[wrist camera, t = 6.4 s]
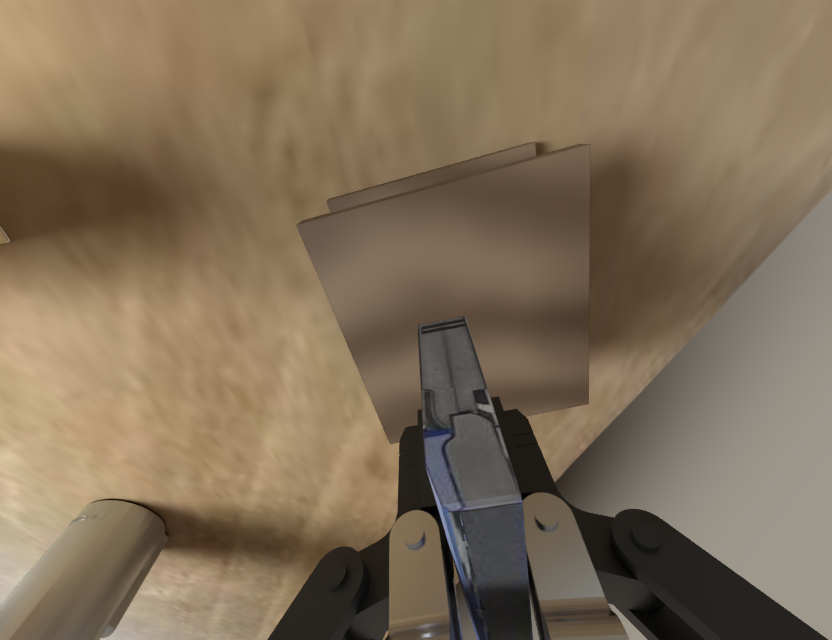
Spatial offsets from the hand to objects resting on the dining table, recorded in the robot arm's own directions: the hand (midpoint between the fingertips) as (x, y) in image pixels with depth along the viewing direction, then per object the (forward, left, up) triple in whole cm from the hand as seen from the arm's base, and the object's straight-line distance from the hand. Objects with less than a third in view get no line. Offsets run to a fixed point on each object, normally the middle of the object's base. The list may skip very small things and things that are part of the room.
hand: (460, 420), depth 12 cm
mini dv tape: (0, 0, -1) cm, 1 cm away
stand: (-1, -1, -16) cm, 16 cm away
